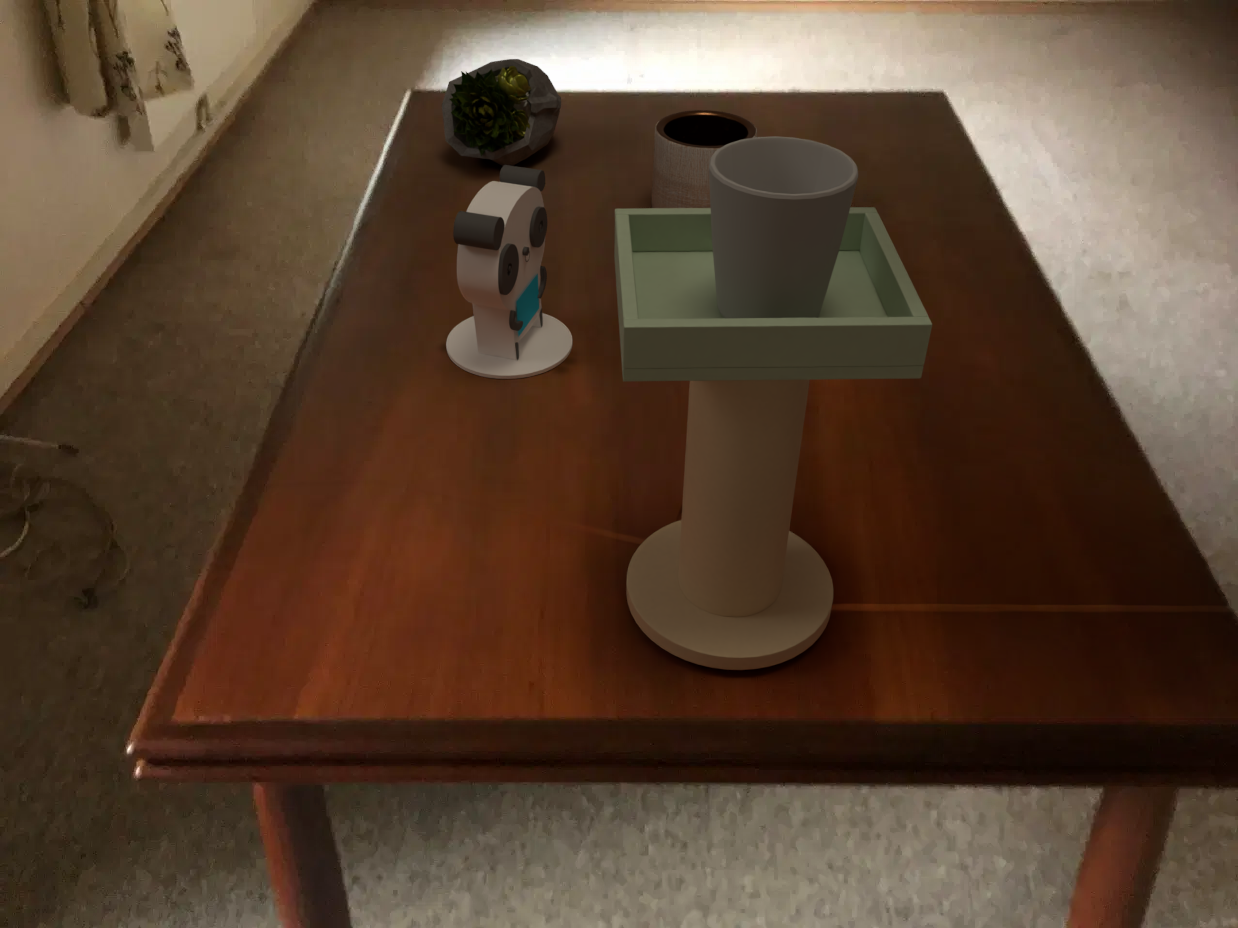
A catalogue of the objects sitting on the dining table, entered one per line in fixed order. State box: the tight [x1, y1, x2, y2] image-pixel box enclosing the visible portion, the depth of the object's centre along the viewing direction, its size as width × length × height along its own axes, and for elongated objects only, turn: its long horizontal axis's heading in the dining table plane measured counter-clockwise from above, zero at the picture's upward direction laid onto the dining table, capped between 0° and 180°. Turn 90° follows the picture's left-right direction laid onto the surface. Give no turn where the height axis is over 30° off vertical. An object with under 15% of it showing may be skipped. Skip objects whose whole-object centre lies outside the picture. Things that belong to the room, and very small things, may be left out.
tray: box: [613, 206, 933, 671], centre depth 70 cm, size 16×14×25 cm
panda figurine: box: [445, 165, 573, 380], centre depth 98 cm, size 12×11×15 cm
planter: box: [650, 109, 758, 208], centre depth 122 cm, size 11×11×10 cm
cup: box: [709, 135, 859, 318], centre depth 62 cm, size 8×10×8 cm
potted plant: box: [441, 58, 562, 167], centre depth 132 cm, size 12×13×15 cm
